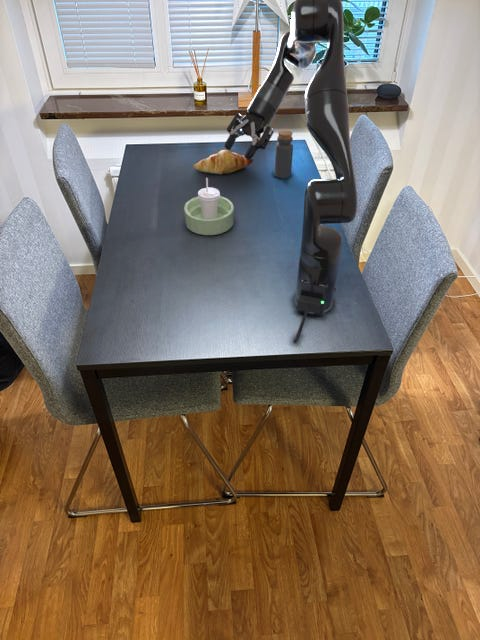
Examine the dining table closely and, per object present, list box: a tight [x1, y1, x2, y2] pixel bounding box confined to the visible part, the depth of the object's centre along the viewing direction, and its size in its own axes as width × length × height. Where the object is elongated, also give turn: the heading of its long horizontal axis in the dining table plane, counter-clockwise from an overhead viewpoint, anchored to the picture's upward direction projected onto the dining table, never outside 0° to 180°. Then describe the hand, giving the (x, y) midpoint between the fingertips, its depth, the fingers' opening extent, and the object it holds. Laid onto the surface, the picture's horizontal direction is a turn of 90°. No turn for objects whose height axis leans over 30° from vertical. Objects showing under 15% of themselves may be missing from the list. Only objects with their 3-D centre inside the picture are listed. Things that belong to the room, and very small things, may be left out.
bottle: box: [273, 129, 294, 179], centre depth 172 cm, size 6×6×15 cm
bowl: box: [183, 195, 235, 236], centre depth 152 cm, size 15×15×6 cm
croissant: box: [193, 149, 254, 175], centre depth 178 cm, size 21×10×8 cm, turn 104°
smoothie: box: [197, 177, 221, 219], centre depth 149 cm, size 6×6×14 cm
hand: (236, 153), depth 147 cm, fingers open, 8 cm apart
